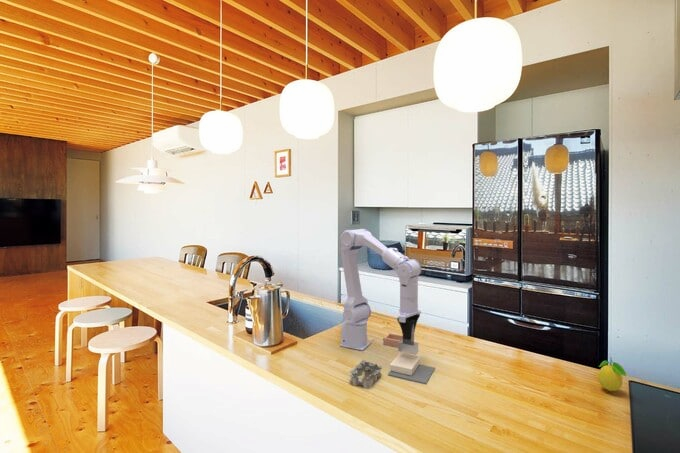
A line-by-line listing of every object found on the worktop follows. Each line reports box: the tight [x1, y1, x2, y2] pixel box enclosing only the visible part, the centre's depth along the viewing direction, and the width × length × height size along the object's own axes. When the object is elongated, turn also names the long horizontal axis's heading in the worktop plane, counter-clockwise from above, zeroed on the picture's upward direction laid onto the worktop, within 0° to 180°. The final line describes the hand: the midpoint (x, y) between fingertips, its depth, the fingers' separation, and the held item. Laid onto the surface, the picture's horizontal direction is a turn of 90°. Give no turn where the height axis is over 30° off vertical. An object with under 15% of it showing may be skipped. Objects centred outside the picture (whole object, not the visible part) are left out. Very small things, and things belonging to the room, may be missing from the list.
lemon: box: [597, 356, 627, 392], centre depth 100 cm, size 7×6×10 cm
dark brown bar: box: [397, 322, 419, 356], centre depth 117 cm, size 3×6×10 cm, turn 61°
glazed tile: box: [389, 352, 422, 376], centre depth 115 cm, size 7×2×10 cm
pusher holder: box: [382, 332, 403, 348], centre depth 135 cm, size 6×9×2 cm
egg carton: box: [349, 359, 383, 389], centre depth 109 cm, size 11×8×4 cm
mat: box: [387, 363, 436, 385], centre depth 113 cm, size 12×11×1 cm
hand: (408, 337), depth 117 cm, fingers closed on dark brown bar, 3 cm apart
